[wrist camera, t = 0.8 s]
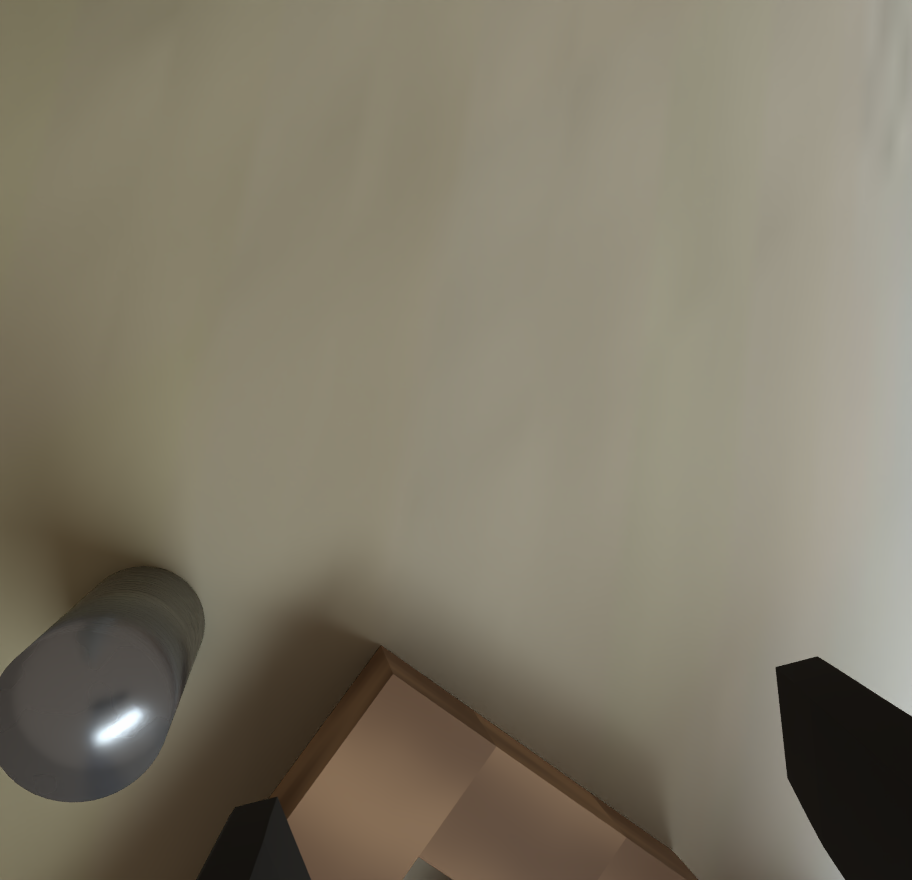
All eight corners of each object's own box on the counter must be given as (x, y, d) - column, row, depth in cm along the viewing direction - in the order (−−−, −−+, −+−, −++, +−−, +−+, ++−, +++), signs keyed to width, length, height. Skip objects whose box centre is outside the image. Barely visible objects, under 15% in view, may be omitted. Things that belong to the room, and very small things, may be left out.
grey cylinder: (155, 708, 29) (98, 834, 20) (53, 641, 28) (-52, 741, 19) (229, 611, 29) (204, 693, 21) (130, 542, 29) (61, 597, 20)
